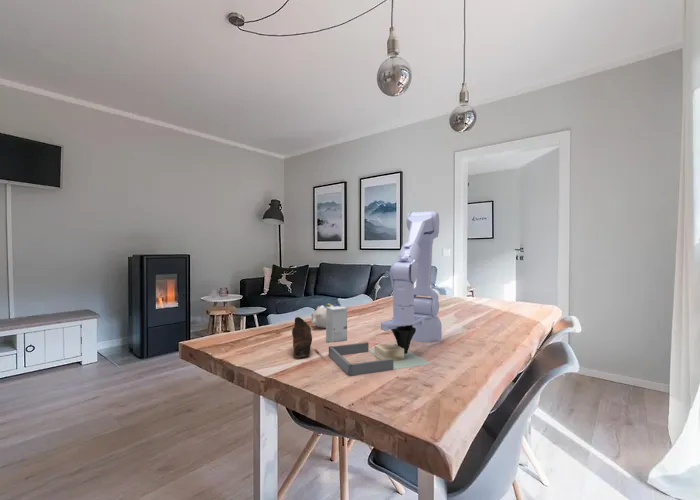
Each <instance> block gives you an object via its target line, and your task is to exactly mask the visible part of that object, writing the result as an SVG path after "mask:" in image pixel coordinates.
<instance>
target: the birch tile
mask: <svg viewBox="0 0 700 500" xmlns="http://www.w3.org/2000/svg"><path fill="white" fill-rule="evenodd" d="M374 350H375V355H374V357H375V358H377V359H378V360H384V359H391V358H392V359H393V361H399V360H404V348H402V347H400V346H398V344H397V343H395V342H390V343H389V342H388V343H382V344H375V345H374Z"/></svg>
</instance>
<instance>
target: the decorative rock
mask: <svg viewBox="0 0 700 500" xmlns="http://www.w3.org/2000/svg"><path fill="white" fill-rule="evenodd" d="M311 330H312V329H311V326H310V325H309V324H308V323H307V321H305V320H304V319H303V318H302V317H299V316H296V317H295V318H294V322H293V328H292V329H291V334H292V335H291V336H292V347H293V350H292V351H293V356H294V357H295V359H298V358H300V359H301V358H305V357H308V356H309V354H310V352H311V346H312V342H313V335H312V331H311Z"/></svg>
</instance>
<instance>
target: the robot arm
mask: <svg viewBox="0 0 700 500" xmlns="http://www.w3.org/2000/svg"><path fill="white" fill-rule="evenodd" d="M439 215H440V214H439V213H438V212H437V210H432V211H415V212H413V211H409V212H408V214H407V215H406V220H405V221H406V228H407V230H408V235H407V240H406V242H405V243H403V244H401V247H400V248H401V249H400V251H399V254H398V255H397V258H396V262H394V263H392V264H391V266H390V270H389V271H390V272H389V277H390V281H391V282H390V283H391V288H392V289H393V292H392V294H393V295H392V296H393V299H392V300H393V301H392V302H393V305H392V306H393V309H392V311H393V312H392V313H393V314H392V315H393V316H392V318H391V319H389V320H386V321H382V322H380V330H382V331H383V332H384V331H385V332H388V331H390V330H391V331H392V334H393V336H394V338H395V341H396V345H398V346H400V347H402V348H404V354H407V352H408V351H409V349H410V344H411V341H415V342H419V343H429V342H434V341H439V342H442V336H443V335H442V334H443V332H442V329H443V328H442V325H443V324H442V322H441V319H440V318H439V316H438V315H439V310H440V302H439V294H438V293H437V292H436V291H435V290H434V289H433V288H431V280H432V276H431V275H432V261H433V259H432V258H433V243H434V239H436V238H438V237H439V233H440V216H439Z"/></svg>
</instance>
